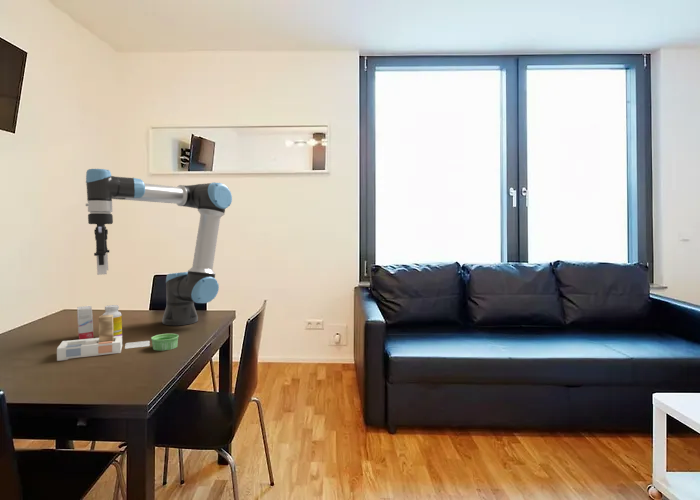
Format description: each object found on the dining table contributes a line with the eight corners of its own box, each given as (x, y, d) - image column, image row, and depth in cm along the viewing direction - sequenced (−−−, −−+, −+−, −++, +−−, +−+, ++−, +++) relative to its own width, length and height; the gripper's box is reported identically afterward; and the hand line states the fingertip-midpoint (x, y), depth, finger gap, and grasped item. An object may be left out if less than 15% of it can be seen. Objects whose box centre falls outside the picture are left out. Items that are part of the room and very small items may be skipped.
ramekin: (151, 346, 151) (151, 334, 151) (178, 344, 154) (178, 332, 154) (150, 353, 142) (150, 340, 142) (178, 350, 146) (178, 338, 146)
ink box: (93, 338, 160) (92, 308, 160) (77, 340, 158) (77, 310, 157) (92, 334, 168) (92, 305, 167) (77, 335, 165) (77, 306, 164)
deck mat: (149, 341, 157) (149, 340, 157) (149, 347, 150) (149, 345, 150) (125, 344, 153) (125, 343, 153) (124, 349, 146) (124, 348, 146)
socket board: (122, 346, 150) (122, 334, 150) (120, 354, 141) (120, 341, 141) (62, 352, 142) (62, 340, 142) (57, 361, 133) (56, 347, 133)
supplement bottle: (126, 337, 163) (125, 305, 162) (111, 341, 157) (110, 308, 156) (113, 335, 165) (112, 304, 165) (98, 339, 159) (97, 306, 158)
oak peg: (113, 348, 146) (113, 314, 146) (112, 351, 143) (112, 316, 142) (100, 349, 145) (99, 315, 144) (99, 352, 141) (98, 317, 141)
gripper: (90, 213, 156) (93, 269, 157) (84, 212, 134) (87, 277, 135) (113, 213, 159) (115, 268, 161) (111, 212, 138) (114, 275, 139)
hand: (103, 272), depth 148 cm, fingers open, 13 cm apart
